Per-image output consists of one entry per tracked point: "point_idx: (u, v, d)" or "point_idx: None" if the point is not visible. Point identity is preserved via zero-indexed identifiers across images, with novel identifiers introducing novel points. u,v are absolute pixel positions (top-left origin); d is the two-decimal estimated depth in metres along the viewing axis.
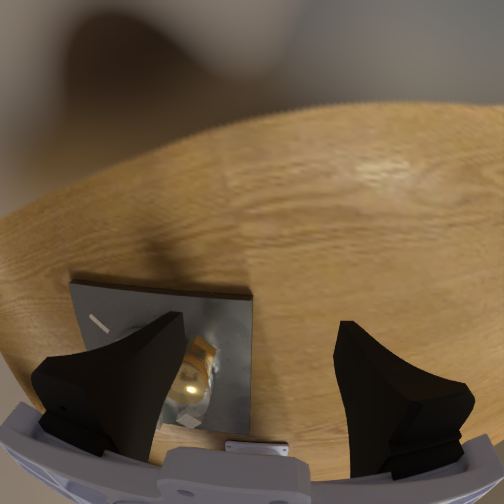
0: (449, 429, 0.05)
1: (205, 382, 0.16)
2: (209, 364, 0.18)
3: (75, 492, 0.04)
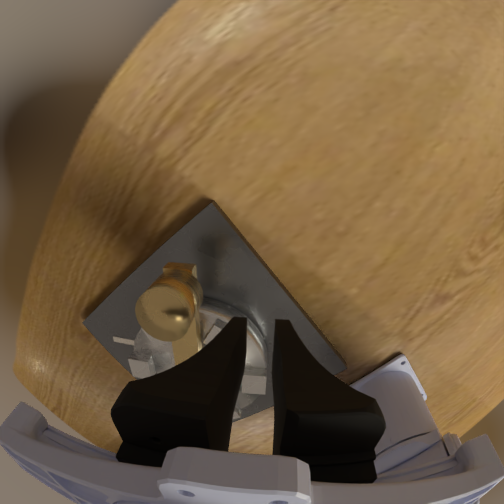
0: (355, 448, 0.05)
1: (180, 293, 0.14)
2: (185, 277, 0.15)
3: (75, 492, 0.04)
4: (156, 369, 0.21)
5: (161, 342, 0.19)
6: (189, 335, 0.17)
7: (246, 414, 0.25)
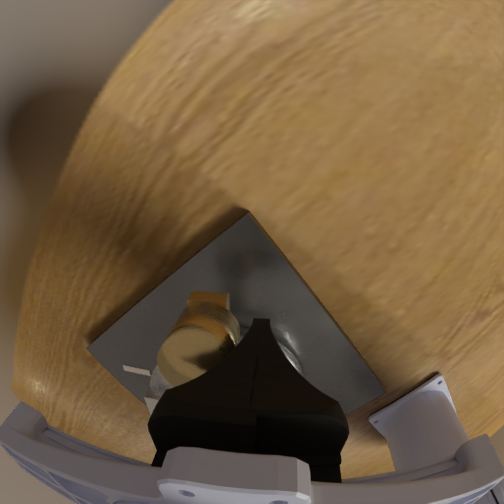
0: (318, 451, 0.05)
1: (217, 338, 0.10)
2: (219, 314, 0.12)
3: (75, 492, 0.04)
4: None
5: None
6: None
7: None
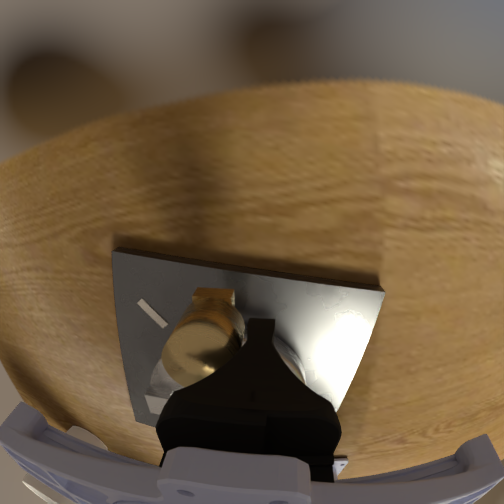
0: (311, 451, 0.05)
1: (224, 334, 0.10)
2: (225, 310, 0.12)
3: (75, 492, 0.04)
4: None
5: None
6: None
7: None
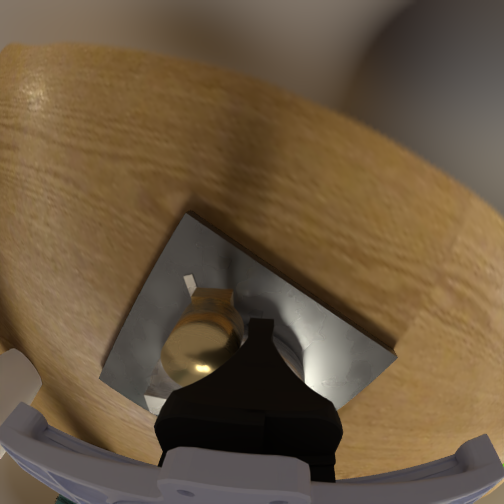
0: (312, 451, 0.05)
1: (223, 334, 0.10)
2: (224, 310, 0.12)
3: (75, 492, 0.04)
4: None
5: None
6: None
7: None
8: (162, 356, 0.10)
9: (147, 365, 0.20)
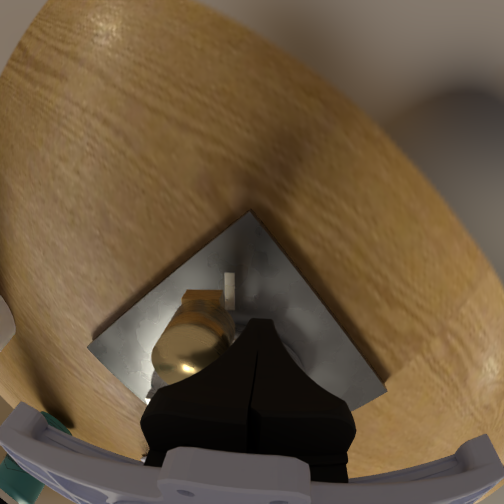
0: (325, 450, 0.05)
1: (210, 335, 0.10)
2: (213, 311, 0.12)
3: (75, 492, 0.04)
4: None
5: None
6: None
7: (143, 398, 0.21)
8: (153, 358, 0.10)
9: (149, 348, 0.19)
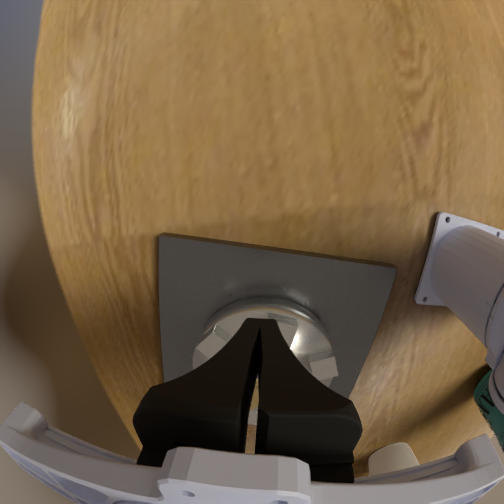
0: (332, 450, 0.05)
1: None
2: None
3: (75, 492, 0.04)
4: None
5: (253, 413, 0.20)
6: None
7: (353, 380, 0.23)
8: None
9: None
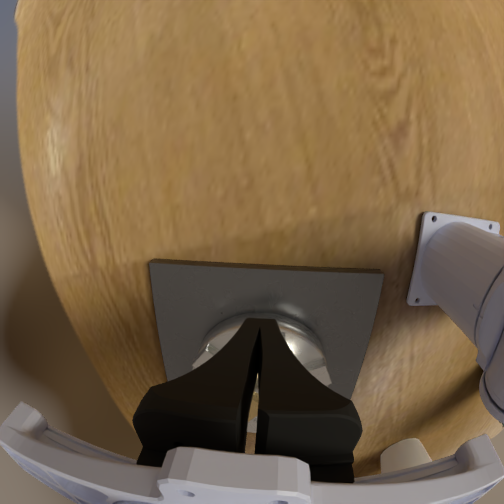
0: (331, 450, 0.05)
1: None
2: None
3: (75, 492, 0.04)
4: None
5: (255, 422, 0.21)
6: None
7: (352, 384, 0.23)
8: None
9: None
